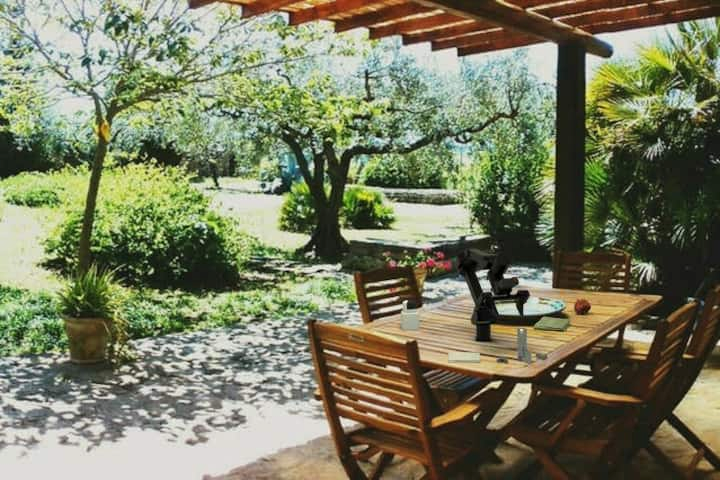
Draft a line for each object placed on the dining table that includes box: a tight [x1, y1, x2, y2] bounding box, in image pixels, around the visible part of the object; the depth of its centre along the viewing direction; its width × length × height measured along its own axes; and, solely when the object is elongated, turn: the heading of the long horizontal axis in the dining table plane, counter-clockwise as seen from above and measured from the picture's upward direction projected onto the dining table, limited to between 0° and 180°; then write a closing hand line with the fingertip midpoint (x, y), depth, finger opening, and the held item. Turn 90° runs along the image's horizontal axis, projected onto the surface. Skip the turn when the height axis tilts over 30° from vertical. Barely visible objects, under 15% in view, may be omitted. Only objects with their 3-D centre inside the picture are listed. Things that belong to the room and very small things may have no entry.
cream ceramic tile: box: [448, 351, 482, 363], centre depth 256 cm, size 11×11×1 cm
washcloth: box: [533, 316, 571, 332], centre depth 306 cm, size 13×18×3 cm
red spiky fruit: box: [573, 298, 592, 317], centre depth 331 cm, size 7×7×10 cm
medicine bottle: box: [400, 299, 420, 331], centre depth 308 cm, size 7×7×12 cm
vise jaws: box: [496, 352, 548, 364], centre depth 253 cm, size 5×19×1 cm, turn 104°
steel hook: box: [516, 327, 532, 365], centre depth 251 cm, size 7×3×11 cm, turn 14°
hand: (510, 317), depth 260 cm, fingers open, 9 cm apart
